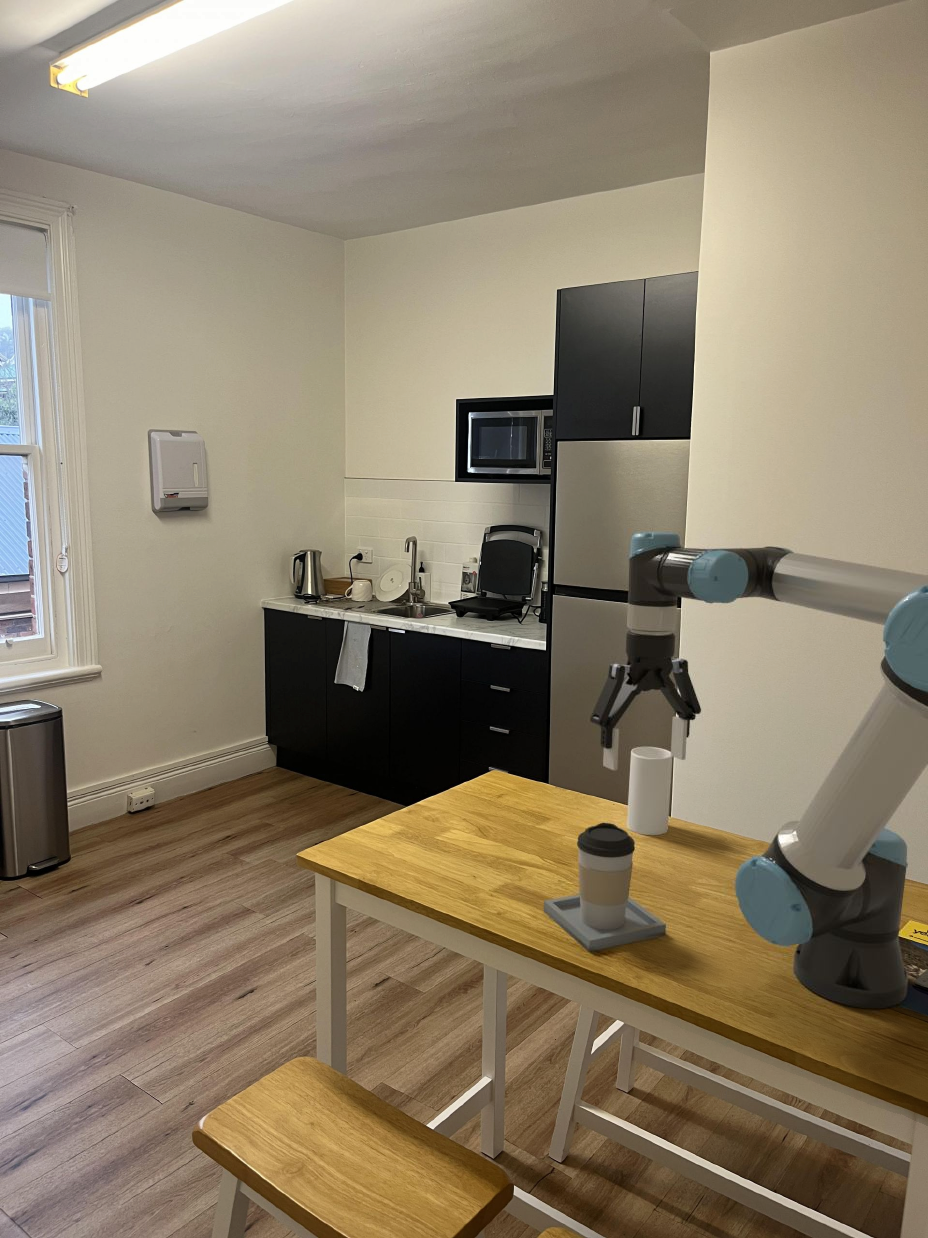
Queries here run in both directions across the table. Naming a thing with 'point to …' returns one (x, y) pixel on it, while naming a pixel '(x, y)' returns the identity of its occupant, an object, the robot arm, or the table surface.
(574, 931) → the tray
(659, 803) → the cup
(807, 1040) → the table surface
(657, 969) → the table surface
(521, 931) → the table surface
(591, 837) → the coffee cup
